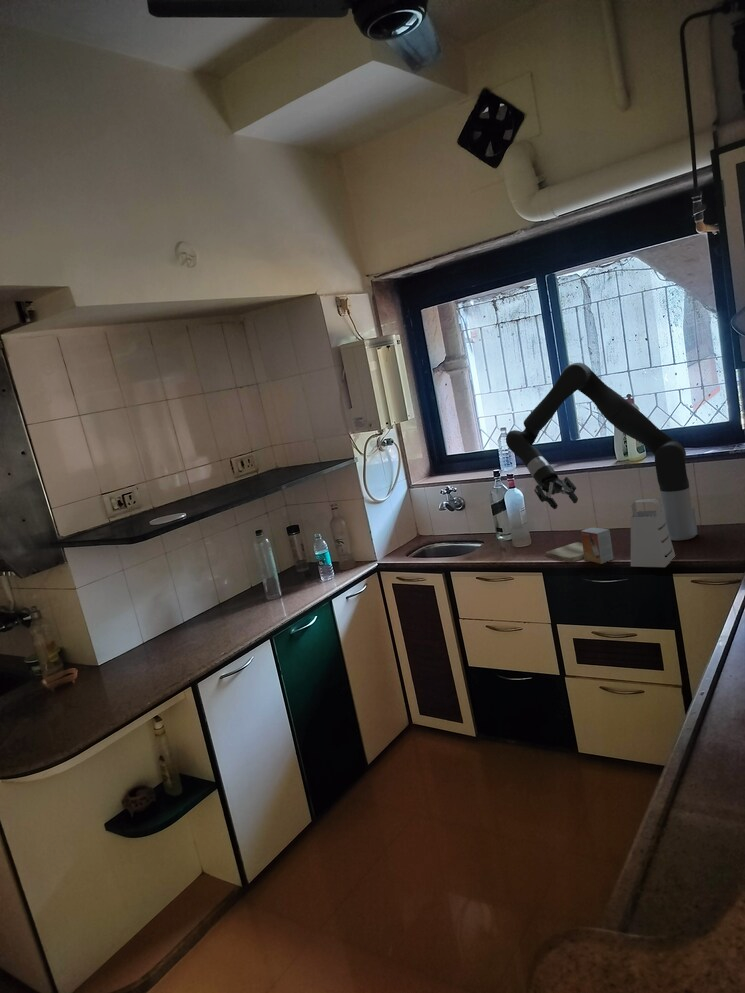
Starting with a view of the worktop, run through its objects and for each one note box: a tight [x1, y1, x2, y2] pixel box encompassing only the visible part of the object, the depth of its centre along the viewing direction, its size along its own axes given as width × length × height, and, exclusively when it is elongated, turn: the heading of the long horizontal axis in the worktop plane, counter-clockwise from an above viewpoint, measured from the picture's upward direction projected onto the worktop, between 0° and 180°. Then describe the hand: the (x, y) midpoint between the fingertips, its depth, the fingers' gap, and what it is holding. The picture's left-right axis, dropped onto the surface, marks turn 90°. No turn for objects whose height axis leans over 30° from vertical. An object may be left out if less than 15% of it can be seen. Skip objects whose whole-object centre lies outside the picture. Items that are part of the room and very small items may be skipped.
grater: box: [630, 498, 676, 568], centre depth 209 cm, size 10×10×20 cm
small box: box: [580, 526, 614, 565], centre depth 222 cm, size 8×6×10 cm
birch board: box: [545, 541, 584, 563], centre depth 235 cm, size 14×14×2 cm
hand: (566, 504), depth 233 cm, fingers open, 8 cm apart
